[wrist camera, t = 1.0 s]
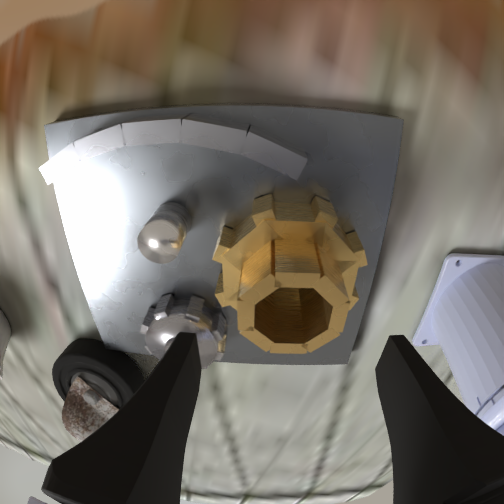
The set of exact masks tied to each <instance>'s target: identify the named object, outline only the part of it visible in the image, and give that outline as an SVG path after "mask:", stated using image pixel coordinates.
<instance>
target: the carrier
mask: <svg viewBox="0 0 504 504" xmlns="http://www.w3.org/2000/svg"><path fill="white" fill-rule="evenodd" d="M403 122H404V120H403V119H401V118H399V117H396V116H390V115H384V114H377V113H370V112H363V111H355V110H346V109H337V108H326V107H314V106H300V105H282V104H195V105H176V106H162V107H150V108H140V109H131V110H122V111H114V112H107V113H100V114H93V115H87V116H81V117H75V118H70V119H65V120H59V121H54V122H52V123H49V124H46V125H44V127H45V134H46V141H47V148H48V154H49V161H47V162H46V163H45V164H44V165H42V166H41V167H40V168H39V169H40V171H41V173H42V175H43V177H44V178H45V180H46V182H47V184H48V185H49V184H50V183H52V182H53V181H54V186H55V191H56V196H57V200H58V204H59V209H60V213H61V217H62V221H63V225H64V229H65V232H66V236H67V240H68V243H69V247H70V250H71V254H72V257H73V260H74V263H75V267H76V270H77V273H78V276H79V279H80V282H81V285H82V288H83V291H84V294H85V296H86V299H87V302H88V305H89V307H90V310H91V313H92V315H93V318H94V321H95V323H96V326H97V328H98V331H99V333H100V336H101V338H102V340H103V343H104V345H105V347H106V349H110V350H116V351H123V352H130V353H137V354H145V355H153V356H155V357H156V358H157V359H159V360H161V359H162V357H163V356H164V354H165V353H166V351H167V350H168V348H169V347H170V345H171V343H172V342H173V340H174V339H175V337H176V335H177V334H178V333H179V332H190V333H196V335H197V341H198V348H199V354H200V360H201V366H202V369H206V368H207V366H208V365H210V364H211V363H212V362H213V361H215V362H231V363H250V364H281V365H332V364H347V363H348V360H349V357H350V354H351V351H352V348H353V345H354V342H355V339H356V336H357V333H358V330H359V327H360V324H361V320H362V317H363V314H364V310H365V307H366V304H367V300H368V297H369V293H370V289H371V286H372V282H373V278H374V275H375V271H376V267H377V263H378V259H379V255H380V251H381V246H382V242H383V238H384V233H385V229H386V224H387V219H388V215H389V210H390V205H391V199H392V194H393V189H394V183H395V177H396V171H397V165H398V159H399V152H400V145H401V138H402V130H403ZM268 194H272V196H273V199H274V201H275V202H284V203H307V204H311V202H312V200H313V198H314V197H315V196H318V197H320V198H322V199H324V200H326V201H328V202H330V203H332V205H333V208H334V210H335V212H336V215H337V217H338V221H337V224H338V225H339V226H340V227H341V228H342V230H343V231H344V232H345V233H346V234H349V233H352V232H355V231H356V233H357V235H358V237H359V239H360V241H361V243H362V246H363V248H364V250H365V255H366V259H367V264H368V265H366V266H363V267H359V268H358V272H357V276H356V280H355V287H356V290H357V293H358V296H359V300H358V301H357V302H356V303H355V305H354V306H353V307H352V309H351V310H348V314H347V318H346V322H345V325H344V329H343V332H340V336H338V337H336V338H335V339H333V340H331V341H330V342H328V343H326V344H325V345H323V346H321V347H319V348H318V349H316V350H314V351H312V352H311V353H310V352H309V351H307V353H306V354H285V353H270V350H269V351H267V352H265V351H264V350H263V349H261V348H260V347H258V346H257V345H255V344H254V343H253V342H251V341H250V340H248V339H247V338H246V337H244V336H243V335H241V334H240V330H238V318H237V310H236V309H234V308H233V307H232V306H230V305H229V306H225V307H222V306H221V305H220V303H219V301H218V299H217V298H216V296H215V290H216V286H217V281H218V277H219V274H220V273H223V269H222V263H219V262H217V261H214V260H212V258H213V255H214V251H215V248H216V244H217V240H218V238H219V236H220V233H221V231H222V229H223V226H224V227H227V228H229V229H232V230H233V229H234V228H235V227H237V226H238V225H239V224H240V223H241V222H242V221H243V220H245V219H246V218H247V217H248V216H249V215H250V214H251V213H252V209H253V200H254V199H257V198H260V197H262V196H265V195H268Z"/></svg>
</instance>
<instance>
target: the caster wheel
mask: <svg viewBox="0 0 504 504" xmlns="http://www.w3.org/2000/svg"><path fill="white" fill-rule="evenodd" d="M52 376H53V381H54V385H55V387H56V389H57V391H58V393H59V395H60V396H61V398H62V399H63V400H64V402H65V403H64V406H63V410H62V420H63V424H64V426H65V428H66V430H67V431H68V432H69V433H70V434H71V435H72V436H74V437H75V438H76V439H78V440H79V441H80V442H82V441H83V440H84V439H86V438H87V437H88V436H90V435H91V434H92V433H94V432H95V431H96V430H97V429H99V428H100V427H101V426H102V425H103V424H105V423H106V422H107V421H108V420H109V419H110V418H111V417H112V416H113V415H114V414H115V413H117V412H118V411H119V410H120V409H121V408H122V406H123V405H124V404H125V403H126V402H127V401H128V400H129V399H130V398H131V397H132V396H133V395H134V394H135V392H136V391H137V390H138V389H139V387H140V386H141V385H142V384H143V383H144V378H143V376H142V374H141V372H140V370H139V369H138V367H137V366H136V365H135V363H134V362H133V361H132V360H131V359H130V358H129V357H128V356H127V355H126V354H124V353H123V352H122V351H116V350H110V349H106V347H105V345H104V343H103V342H102V341H99V340H95V339H79V340H77V341H74V342H72V343H71V344H70V345H69V346H68V347H67V348H66V349H65V350H64V351H63V353H62V354H61V355H60V356H59V357H58V359H57V360H56V362H55V363H54V365H53V369H52Z"/></svg>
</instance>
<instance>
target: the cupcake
mask: <svg viewBox="0 0 504 504" xmlns="http://www.w3.org/2000/svg"><path fill="white" fill-rule="evenodd" d="M10 336H11V328H10V325H9V322H8V320H7V318H6V317H5V315H4V314H3V312H2V311H1V309H0V379H2V374H3V359H4V355H5V351H6V348H7V345H8V342H9V339H10Z"/></svg>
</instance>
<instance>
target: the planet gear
mask: <svg viewBox="0 0 504 504" xmlns="http://www.w3.org/2000/svg"><path fill="white" fill-rule="evenodd" d="M337 221H338V217H337V215H336V212H335V210H334V208H333V205H332V203H330V202H328V201H326V200H324V199H322V198H320V197H318V196H315V197H314V198H313V200H312V202H311V204H307V203H284V202H275V201H274V199H273V196H272V194H268V195H265V196H262V197H260V198H257V199H254V200H253V209H252V213H251V214H250V215H249V216H248V217H247V218H246V219H245V220H243V221H242V222H241V223H240V224H239V225H238V226H237V227H235V228H234V229H233V230H232V229H229V228H227V227H224V226H223V229H222V231H221V233H220V236H219V238H218V240H217V244H216V248H215V251H214V255H213V258H212V260H214V261H217V262H219V263H222V269H223V273H220V274H219V277H218V281H217V286H216V290H215V296H216V298H217V299H218V301H219V303H220V305H221V306H222V307H225V306H229V305H230V306H232V307H233V308H234V309H236V310H237V318H238V330H240V334H241V335H243V336H244V337H246V338H247V339H248V340H250V341H251V342H253V343H254V344H255V345H257V346H258V347H260V348H261V349H263V350H264V351H265V352H267V351H269V350H270V353H285V354H306V353H307V351H309V352H310V353H311V352H312V351H314V350H316V349H318V348H319V347H321V346H323V345H325V344H326V343H328V342H330V341H331V340H333V339H335V338H336V337H338V336H340V332H343V329H344V325H345V322H346V318H347V314H348V310H351V309H352V307H353V306H354V305H355V303H356V302H357V301H358V300H359V296H358V293H357V290H356V287H355V280H356V276H357V272H358V268H359V267H363V266H366V265H368V264H367V259H366V255H365V250H364V248H363V246H362V243H361V241H360V239H359V237H358V235H357V233H356V231H355V232H352V233H349V234H346V233H345V232H344V231H343V230H342V228H341V227H340V226H339V225H338V224H337Z"/></svg>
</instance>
